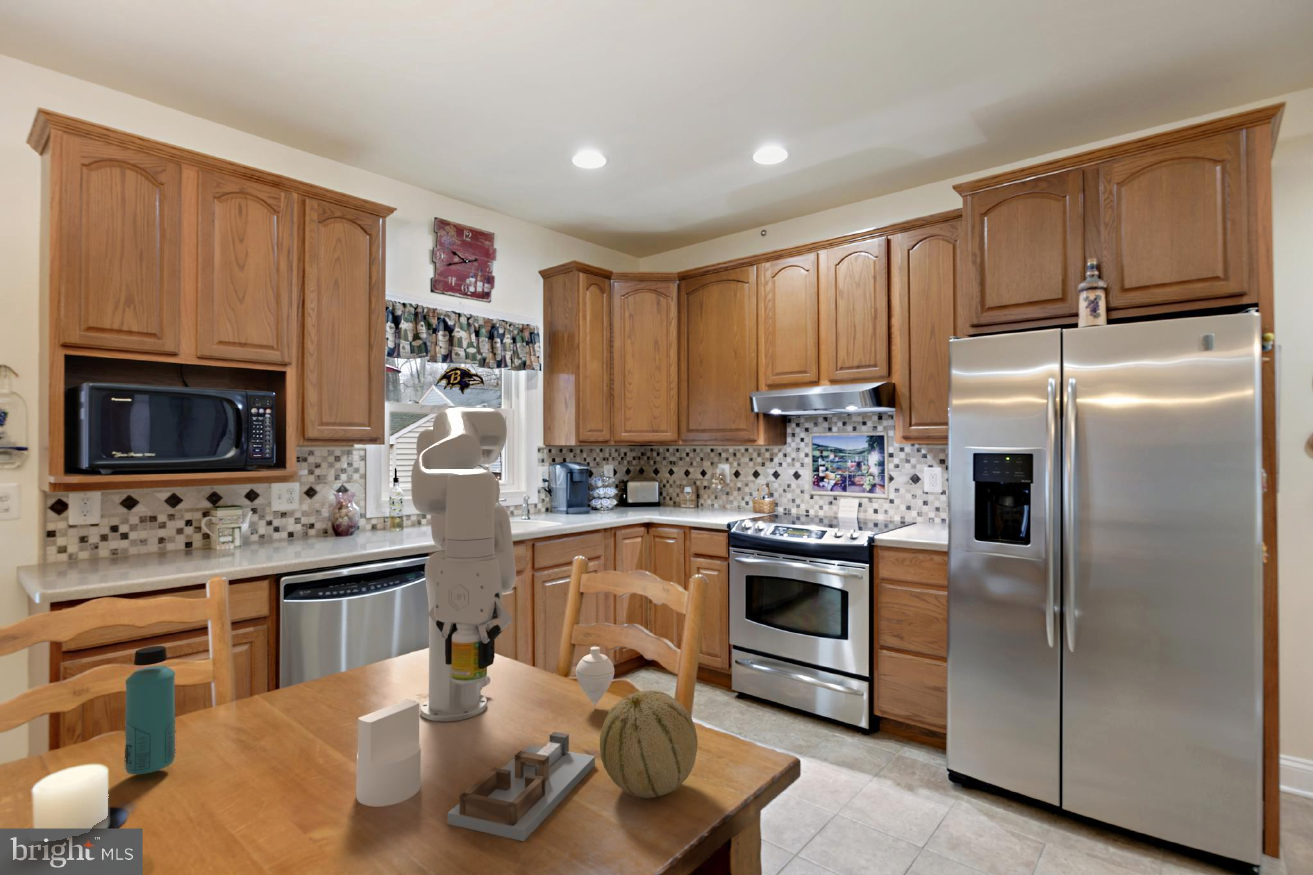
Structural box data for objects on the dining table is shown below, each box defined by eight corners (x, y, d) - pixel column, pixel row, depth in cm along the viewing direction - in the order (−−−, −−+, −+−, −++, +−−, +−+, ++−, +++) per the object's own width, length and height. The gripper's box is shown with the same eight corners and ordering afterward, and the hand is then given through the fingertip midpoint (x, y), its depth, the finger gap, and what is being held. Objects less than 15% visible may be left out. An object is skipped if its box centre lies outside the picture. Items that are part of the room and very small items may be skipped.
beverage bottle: (185, 768, 106) (187, 643, 106) (141, 788, 99) (143, 655, 100) (157, 762, 108) (159, 639, 108) (112, 781, 101) (114, 651, 102)
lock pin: (553, 748, 109) (553, 731, 109) (568, 751, 108) (568, 734, 108) (521, 777, 99) (521, 758, 99) (537, 780, 98) (537, 761, 98)
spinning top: (568, 712, 128) (568, 650, 128) (587, 698, 135) (587, 640, 135) (603, 718, 125) (603, 655, 125) (620, 704, 132) (620, 644, 133)
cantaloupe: (711, 778, 102) (710, 682, 103) (675, 828, 89) (675, 716, 89) (626, 760, 108) (626, 669, 109) (581, 804, 95) (581, 700, 95)
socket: (494, 784, 98) (494, 767, 98) (545, 794, 95) (545, 776, 95) (459, 814, 90) (459, 795, 90) (513, 826, 87) (513, 807, 87)
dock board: (530, 753, 111) (530, 724, 111) (594, 765, 107) (595, 734, 107) (447, 823, 90) (447, 787, 90) (523, 841, 86) (523, 803, 86)
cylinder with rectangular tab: (381, 813, 93) (382, 727, 93) (343, 795, 97) (344, 714, 98) (433, 785, 100) (433, 706, 101) (395, 770, 105) (396, 694, 105)
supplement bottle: (476, 686, 100) (477, 622, 100) (444, 683, 101) (445, 620, 102) (492, 674, 105) (493, 614, 106) (462, 672, 107) (462, 612, 107)
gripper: (409, 549, 103) (409, 665, 103) (503, 554, 98) (502, 677, 97) (440, 544, 111) (440, 652, 110) (529, 548, 105) (529, 662, 104)
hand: (469, 663), depth 103 cm, fingers closed on supplement bottle, 5 cm apart
